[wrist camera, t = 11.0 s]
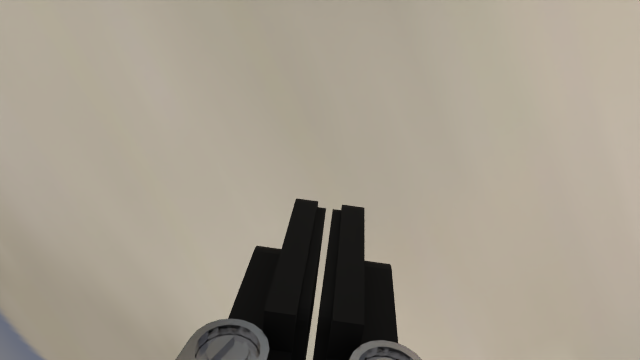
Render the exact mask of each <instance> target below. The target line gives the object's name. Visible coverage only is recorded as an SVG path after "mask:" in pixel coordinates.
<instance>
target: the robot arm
mask: <svg viewBox="0 0 640 360" xmlns="http://www.w3.org/2000/svg"><path fill="white" fill-rule="evenodd" d="M325 212H326V208H319V207H318V201H311V200H303V199H296V201H295V204H294V208H293V211H292V215H291V218H290V222H289V225H288V229H287V232H286V236H285V239H284V243H283V246H282V249H276V248H269V247H261V246H256V248H255V250H254V252H253V255H252V257H251V260H250V263H249V265H248V268H247V271H246V273H245V276H244V278H243V281H242V284H241V286H240V289H239V292H238V294H237V297H236V299H235V302H234V305H233V307H232V310H231V313H230V315H229V318H228V319H222V320H217V321H214V322H211V323H208V324H206V325H205V326H203V327H201V328H200V329H198V330H197V331H196V332H195V333H194V334H193V335H192V336H191V338H190V339H189V340H188V342H187V343H186V345H185V346H184V348H183V349H182V351H181V352H180V354H179V355H178V357H177V358H176V359H175V360H306V354H307V347H308V340H309V333H310V326H311V319H312V313H313V306H314V298H315V291H316V283H317V275H318V267H319V259H320V251H321V243H322V236H323V228H324V220H325ZM313 360H422V359H421V358H420V357H419V356H418V355H417V354H416V353H415V352H413V351H412V350H410V349H409V348H407V347H406V346H403V345H401V344H398V336H397V325H396V314H395V303H394V292H393V280H392V269H391V265H390V264H384V263H377V262H370V261H364V208H363V207H355V206H348V205H342V209H341V210H334V209H333V212H332V220H331V227H330V235H329V242H328V249H327V257H326V264H325V272H324V279H323V287H322V294H321V301H320V309H319V317H318V325H317V332H316V340H315V348H314V356H313Z"/></svg>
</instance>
